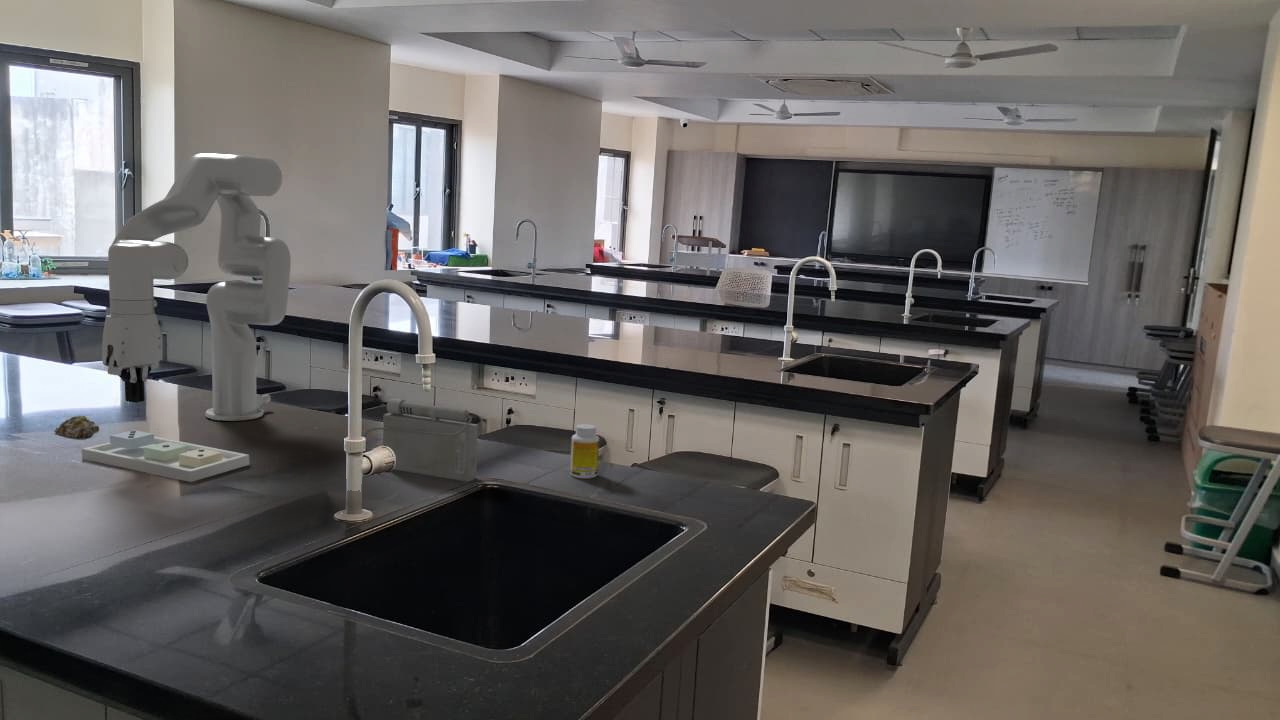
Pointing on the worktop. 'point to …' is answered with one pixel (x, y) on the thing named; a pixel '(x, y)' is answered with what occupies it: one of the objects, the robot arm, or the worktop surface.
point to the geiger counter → (430, 439)
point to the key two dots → (200, 457)
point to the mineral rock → (77, 427)
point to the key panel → (168, 468)
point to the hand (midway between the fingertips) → (134, 401)
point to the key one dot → (164, 451)
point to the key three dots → (131, 439)
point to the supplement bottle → (584, 452)
